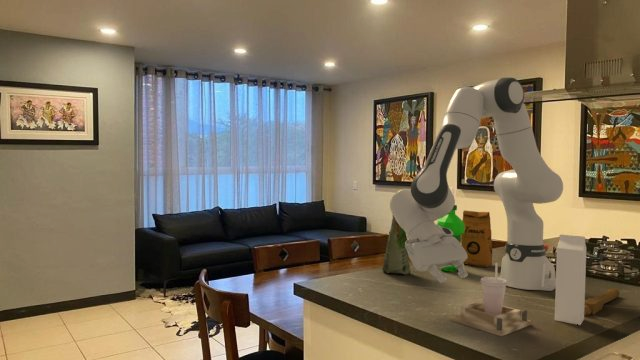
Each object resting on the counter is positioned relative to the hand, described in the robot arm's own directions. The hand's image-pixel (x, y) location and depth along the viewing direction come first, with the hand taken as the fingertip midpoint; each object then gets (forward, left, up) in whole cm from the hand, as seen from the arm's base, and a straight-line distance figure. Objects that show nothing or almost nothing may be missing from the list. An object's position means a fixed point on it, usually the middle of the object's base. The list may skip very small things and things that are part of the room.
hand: (454, 278), depth 126 cm
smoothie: (-1, +11, -8) cm, 13 cm away
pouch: (-23, -41, -9) cm, 48 cm away
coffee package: (-62, -33, -9) cm, 71 cm away
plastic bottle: (-44, -33, -9) cm, 56 cm away
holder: (0, +11, -9) cm, 14 cm away
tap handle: (-41, +21, -9) cm, 47 cm away
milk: (-19, +22, -9) cm, 30 cm away
